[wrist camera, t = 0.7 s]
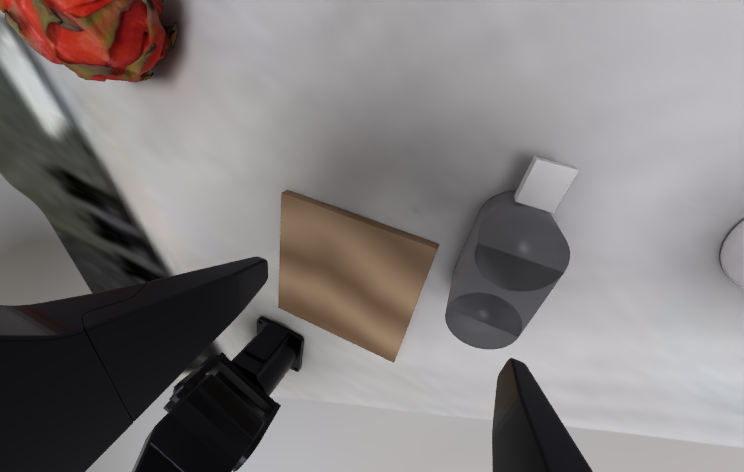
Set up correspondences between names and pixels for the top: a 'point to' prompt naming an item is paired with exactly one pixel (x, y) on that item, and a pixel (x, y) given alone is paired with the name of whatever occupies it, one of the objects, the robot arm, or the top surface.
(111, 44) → the dragon fruit
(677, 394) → the top surface
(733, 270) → the beer glass
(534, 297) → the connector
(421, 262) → the board
